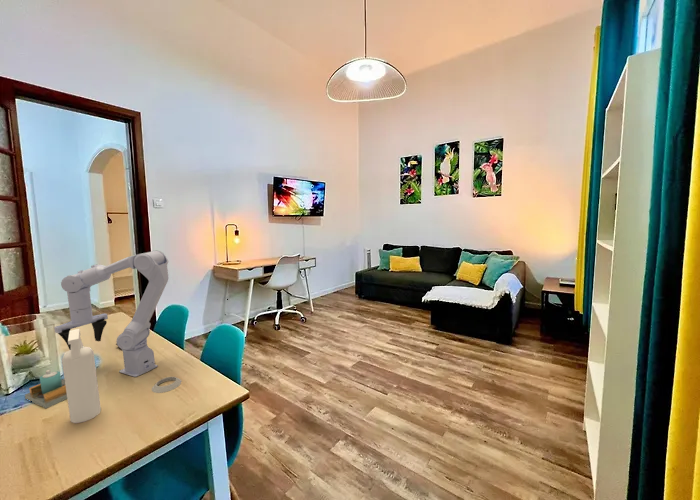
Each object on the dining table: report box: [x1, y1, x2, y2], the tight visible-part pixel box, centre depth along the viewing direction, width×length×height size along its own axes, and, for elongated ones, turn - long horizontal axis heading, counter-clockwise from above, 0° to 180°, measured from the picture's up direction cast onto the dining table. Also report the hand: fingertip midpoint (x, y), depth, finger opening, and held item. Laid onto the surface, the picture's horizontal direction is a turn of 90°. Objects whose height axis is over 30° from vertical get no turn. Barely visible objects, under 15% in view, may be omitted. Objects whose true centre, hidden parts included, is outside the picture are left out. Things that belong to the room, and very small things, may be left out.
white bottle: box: [61, 328, 102, 424], centre depth 83 cm, size 7×12×25 cm, turn 38°
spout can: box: [39, 369, 62, 395], centre depth 93 cm, size 4×4×6 cm
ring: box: [151, 376, 183, 394], centre depth 98 cm, size 8×8×2 cm
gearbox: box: [24, 378, 67, 409], centre depth 94 cm, size 12×11×4 cm
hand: (85, 345), depth 106 cm, fingers open, 7 cm apart
